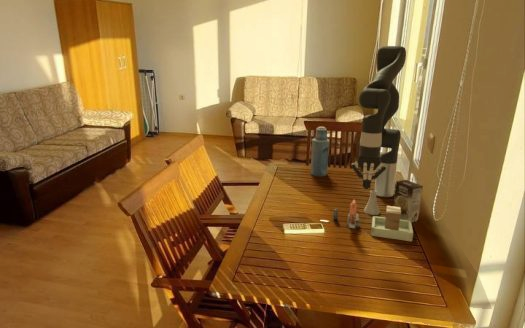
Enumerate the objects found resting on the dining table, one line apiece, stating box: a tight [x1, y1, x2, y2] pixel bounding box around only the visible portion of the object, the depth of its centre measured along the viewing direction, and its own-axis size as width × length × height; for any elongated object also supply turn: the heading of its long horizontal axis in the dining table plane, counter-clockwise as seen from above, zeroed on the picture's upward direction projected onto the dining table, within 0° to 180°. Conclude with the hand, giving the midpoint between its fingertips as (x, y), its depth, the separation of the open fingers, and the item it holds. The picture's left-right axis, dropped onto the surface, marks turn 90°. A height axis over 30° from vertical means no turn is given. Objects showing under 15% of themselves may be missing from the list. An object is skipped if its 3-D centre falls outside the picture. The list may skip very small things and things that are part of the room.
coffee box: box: [393, 179, 424, 223], centre depth 156 cm, size 9×6×16 cm
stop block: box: [385, 205, 401, 230], centre depth 144 cm, size 5×5×9 cm
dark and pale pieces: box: [319, 208, 360, 229], centre depth 152 cm, size 6×16×5 cm, turn 72°
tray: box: [370, 215, 414, 242], centre depth 145 cm, size 12×15×3 cm
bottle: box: [310, 126, 330, 178], centre depth 208 cm, size 10×10×30 cm
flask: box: [363, 190, 381, 216], centre depth 163 cm, size 7×7×10 cm
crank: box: [347, 199, 360, 229], centre depth 145 cm, size 12×4×11 cm, turn 162°
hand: (366, 188), depth 138 cm, fingers closed
